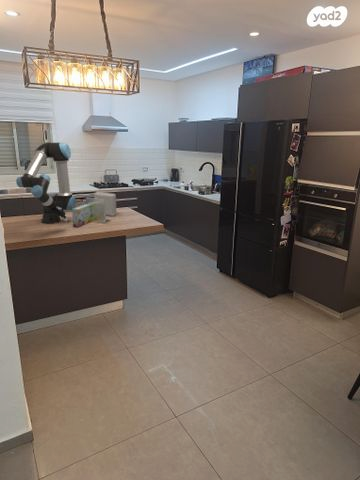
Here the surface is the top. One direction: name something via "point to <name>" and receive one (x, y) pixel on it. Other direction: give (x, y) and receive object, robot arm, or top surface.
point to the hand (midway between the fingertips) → (66, 219)
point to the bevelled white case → (108, 202)
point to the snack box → (81, 215)
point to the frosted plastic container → (97, 209)
